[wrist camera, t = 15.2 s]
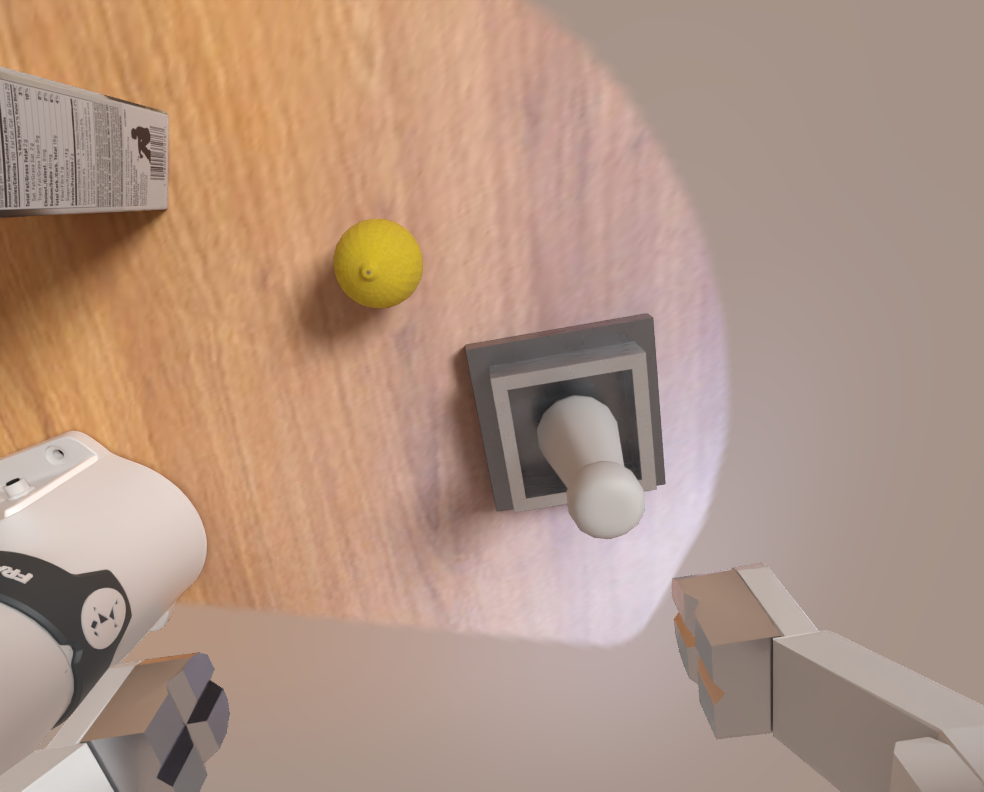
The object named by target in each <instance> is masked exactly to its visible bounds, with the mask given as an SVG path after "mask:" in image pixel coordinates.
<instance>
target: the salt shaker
mask: <svg viewBox="0 0 984 792" xmlns="http://www.w3.org/2000/svg"><path fill="white" fill-rule="evenodd" d="M537 436H538V444H539V449H540V450H541V452H542V453H543V455H544V456H545V458H546V460H547V461H548V463H549V464H550V465H551V467H552V468H553V469H554V471H555V472H556V473H557V475H558V476H559V477H560V479H561V480H562V481H563V483H564V484H565V485H566V487H567V488H568V489H567V492H566V494H567V504H568V511H569V514H570V516H571V517H572V519H573V520H574V522H575V523H576V525H577V526H578V528H579V529H580V531H582V532H584V533H586V534H588V535H590V536H592V537H594V538H603V539H612V538H615V537H618V536H621V535H624V534H626V533H628V532H629V531H630V530H631V529H633V528H634V527H635V526H636V525H638V523H639V521H640V519H641V517H642V515H643V513H644V511H645V495H644V490H643V488H642V486H641V485H640V483H639V482H638V480H637V479H636V477H635V475H634V474H633V473H632V471H630V470H629V469H627V468H625V467H624V462H623V456H622V450H621V444H620V438H619V431H618V425H617V421H616V420H615V418H614V416H613V415H612V413H611V411H610V410H609V408H608V407H607V406H606V405H604V404H602V403H601V402H599V401H597V400H596V399H594V398H592V397H588V396H577V395H573V396H570V397H567V398H564V399H561V400H557V401H556V402H555V403H554V404H553V405H552V406H551V407H550V408H549V409H547V410H546V411H545V412H544V414H543V416H542V419H541V421H540V423H539V426H538V428H537Z"/></svg>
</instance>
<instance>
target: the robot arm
mask: <svg viewBox="0 0 984 792" xmlns="http://www.w3.org/2000/svg"><path fill="white" fill-rule="evenodd" d="M59 450H61V451H62V452H63V453H64V455H63V454H61V453H60V452H59ZM206 553H207V541H206V534H205V530H204V527H203V524H202V521H201V519H200V517H199V515H198V513H197V511H196V509H195V508H194V506H193V505H192V503H191V502H190V501H189V499H188V498H187V497H186V496H185V495H184V494H183V493H182V491H181V490H180V489H178V488H177V487H176V486H175V485H174V484H173V483H172V482H170V481H169V480H168V479H166V478H165V477H163V476H162V475H160V474H159V473H157V472H155V471H153V470H152V469H150V468H148V467H145V466H143V465H141V464H138V463H135V462H133V461H130V460H127V459H124V458H121V457H119V456H117V455H115V454H113V453H111V452H109V451H108V450H107V449H106V448H104V447H103V446H102V445H101V444H99V443H98V442H97V441H95V440H94V439H92V438H91V437H89V436H88V435H86V434H84V433H82V432H79V431H68V432H65V433H63V434H60V435H58V436H55V437H53V438H50V439H47V440H45V441H42V442H40V443H37V444H35V445H32V446H29V447H27V448H24V449H22V450H19V451H17V452H14V453H12V454H9V455H6V456H4V457H1V458H0V792H200V790H201V787H202V785H203V783H204V781H205V779H206V777H207V771H206V767H205V764H204V763H205V762H206V761H207V760H208V759H209V758H210V757H212V756H213V755H214V754H215V753H216V752H217V751H218V750H219V749H220V747H221V744H222V742H223V740H224V738H225V735H226V733H227V728H228V721H229V715H230V712H229V705H228V699H227V697H226V694H225V692H224V689H223V688H221V687H220V686H218V685H217V684H215V683H214V682H212V681H211V680H210V679H211V677H212V674H213V672H214V667H213V665H212V663H211V661H210V659H209V657H208V655H207V654H203V653H192V654H183V655H176V656H168V657H160V658H153V659H146V660H144V661H134V662H127V663H120V662H121V661H122V660H123V659H124V658H125V657H126V656H127V655H128V654H129V653H130V652H131V651H132V650H133V648H134V647H135V646H136V645H137V644H138V643H139V642H140V641H141V639H142V638H144V636H145V635H146V634H147V633H148V632H151V631H157V630H160V629H161V628H162V627H163V626H164V625H165V624H166V623H167V622H168V621H169V620H170V618H171V616H172V614H173V611H174V608H175V605H176V601H177V599H178V598H179V597H180V596H181V595H182V594H183V593H184V592H185V591H186V590H187V589H188V588H189V587H190V586H191V585H192V584H193V583H194V582H195V580H196V579H197V578H198V576H199V574H200V573H201V571H202V568H203V566H204V563H205V559H206ZM672 598H673V600H674V602H675V605H676V607H677V609H678V611H679V613H678V614H677V616H676V617H675V619H674V624H675V633H676V639H677V643H678V648H679V652H680V655H681V658H682V661H683V664H684V667H685V669H686V672H687V674H688V676H689V678H690V679H691V680H693V681H694V682H696V683H697V684H698V687H699V700H700V704H701V706H702V708H703V711H704V713H705V715H706V717H707V720H708V722H709V724H710V726H711V729H712V731H713V733H714V735H715V737H716V739H723V738H732V737H741V736H749V735H758V734H767V733H773V736H774V737H775V738H777V739H778V740H779V741H780V742H781V743H783V744H784V745H785V746H786V747H787V748H789V749H790V750H791V751H792V752H793V753H795V754H796V755H797V756H798V757H800V758H801V759H802V760H803V761H804V762H806V763H807V764H808V765H809V766H810V767H812V768H813V769H814V770H815V771H817V772H818V773H819V774H820V775H821V776H823V777H824V778H825V779H826V780H828V781H829V782H830V783H831V784H832V785H834V786H835V787H836V788H837V789H838V790H840V791H841V792H984V706H983V705H981V704H979V703H977V702H975V701H973V700H971V699H969V698H967V697H965V696H963V695H961V694H959V693H957V692H954V691H952V690H950V689H948V688H946V687H944V686H942V685H940V684H938V683H936V682H934V681H932V680H930V679H928V678H926V677H924V676H922V675H920V674H918V673H916V672H914V671H912V670H909V669H907V668H905V667H903V666H901V665H899V664H897V663H895V662H893V661H891V660H889V659H887V658H885V657H883V656H881V655H879V654H877V653H875V652H873V651H870V650H868V649H866V648H864V647H862V646H860V645H858V644H856V643H854V642H852V641H850V640H848V639H846V638H844V637H842V636H840V635H838V634H836V633H834V632H832V631H830V630H826V631H819V630H818V629H817V628H816V627H815V625H814V624H813V623H812V622H811V620H810V619H809V618H808V617H807V615H806V614H805V613H804V612H803V610H802V609H801V608H800V606H799V605H798V604H797V603H796V602H795V600H794V599H793V598H792V597H791V595H790V594H789V593H788V591H787V590H786V589H785V588H784V586H783V585H782V584H781V583H780V581H779V580H778V579H777V578H776V576H775V575H774V574H773V572H772V571H771V570H770V569H769V567H768V566H767V565H765V564H763V563H756V564H751V565H745V566H740V567H734V568H732V569H727V570H720V571H715V572H709V573H702V574H697V575H690V576H684V577H678V578H673V579H672ZM76 708H77V709H76ZM73 712H74V713H73ZM72 713H73V714H72ZM71 714H72V715H71ZM70 715H71V716H70ZM69 716H70V718H69V719H68V720H67V722H66V723H65V724H64V725H63V727H62V728H61V729H60V731H59V732H58V733H57V734H56V735H55V737H54V738H53V739H52V740H51V742H50V743H49V745H48V746H47V747H46V748H45V749H42V750H36V751H34V750H35V749H36V748H37V747H38V745H39V744H40V743H41V742H42V740H43V739H44V738H45V737H46V735H47V734H48V733H49V731H50V730H52V729H53V728H55V727H57V726H58V725H60V724H61V723H63V722H64V721H65V720H66V719H67V718H68V717H69Z"/></svg>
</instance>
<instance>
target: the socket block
mask: <svg viewBox="0 0 984 792" xmlns="http://www.w3.org/2000/svg"><path fill="white" fill-rule="evenodd" d="M466 355H467V360H468V365H469V371H470V376H471V381H472V386H473V391H474V396H475V402H476V407H477V412H478V417H479V422H480V427H481V433H482V438H483V443H484V448H485V453H486V458H487V464H488V469H489V474H490V479H491V484H492V489H493V495H494V500H495V505H496V510H497V511H503V510H510V509H514V512H521V511H527V510H533V509H539V508H545V507H552V506H558V505H564V504H567V494H566V492H567V489H568V488H567V487H566V485H565V484H564V483H563V481H562V480H561V479H560V477H559V476H558V475H557V473H556V472H555V471H554V469H553V468H552V467H551V465H550V464H549V463H548V461H547V460H546V458H545V456H544V455H543V453H542V452H541V450H540V449H539V444H538V436H537V428H538V426H539V423H540V421H541V419H542V416H543V414H544V412H545V411H546V410H547V409H549V408H550V407H551V406H552V405H553V404H554V403H555V402H556V401H557V400H561V399H564V398H567V397H570V396H573V395H577V396H588V397H592V398H594V399H596V400H597V401H599V402H601V403H602V404H604V405H606V406H607V407H608V408H609V410H610V411H611V413H612V415H613V416H614V418H615V420H616V421H617V425H618V431H619V438H620V444H621V450H622V456H623V462H624V467H625V468H627V469H629V470H630V471H632V473H633V474H634V475H635V477H636V479H637V480H638V482H639V483H640V485H641V486H642V488H643V490H644V491H650V490H657V487H656V486H657V485H664V484H665V470H664V457H663V443H662V430H661V416H660V403H659V390H658V376H657V363H656V349H655V336H654V322H653V317H652V316H650V315H649V314H647V313H646V314H641V315H635V316H629V317H623V318H618V319H612V320H606V321H600V322H594V323H589V324H583V325H577V326H571V327H566V328H560V329H554V330H548V331H542V332H537V333H531V334H525V335H519V336H514V337H508V338H502V339H496V340H490V341H485V342H479V343H473V344H467V345H466Z"/></svg>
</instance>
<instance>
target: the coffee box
mask: <svg viewBox="0 0 984 792" xmlns="http://www.w3.org/2000/svg"><path fill="white" fill-rule="evenodd" d="M168 141H169V116H168V114H167V113H166V112H164V111H161V110H157V109H154V108H150V107H146V106H142V105H139V104H135V103H131V102H128V101H125V100H121V99H117V98H114V97H110V96H106V95H103V94H99V93H96V92H92V91H88V90H85V89H81V88H77V87H74V86H70V85H66V84H63V83H59V82H55V81H52V80H48V79H44V78H41V77H37V76H34V75H30V74H26V73H22V72H19V71H15V70H11V69H7V68H4V67H0V218H2V217H24V216H43V215H62V214H83V213H104V212H130V211H149V210H165V209H167V207H168Z"/></svg>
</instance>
